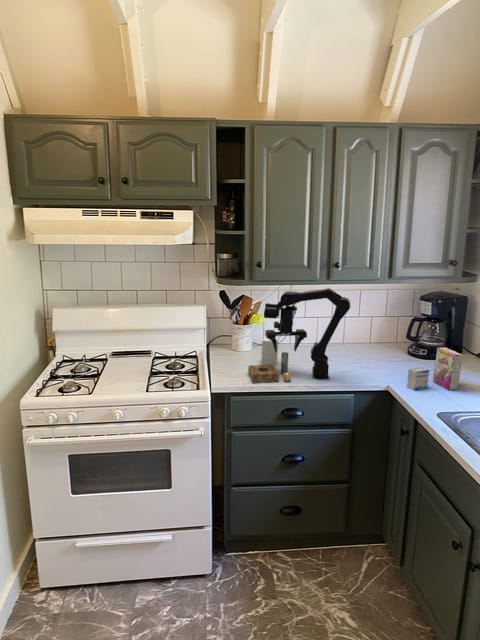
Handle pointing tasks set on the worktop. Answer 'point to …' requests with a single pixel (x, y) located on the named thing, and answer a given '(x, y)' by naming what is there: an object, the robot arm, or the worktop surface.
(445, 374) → the candy bar box
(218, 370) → the worktop surface
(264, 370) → the hole block
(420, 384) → the medicine box
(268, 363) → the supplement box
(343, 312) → the robot arm
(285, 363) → the long pin
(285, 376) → the short pin
